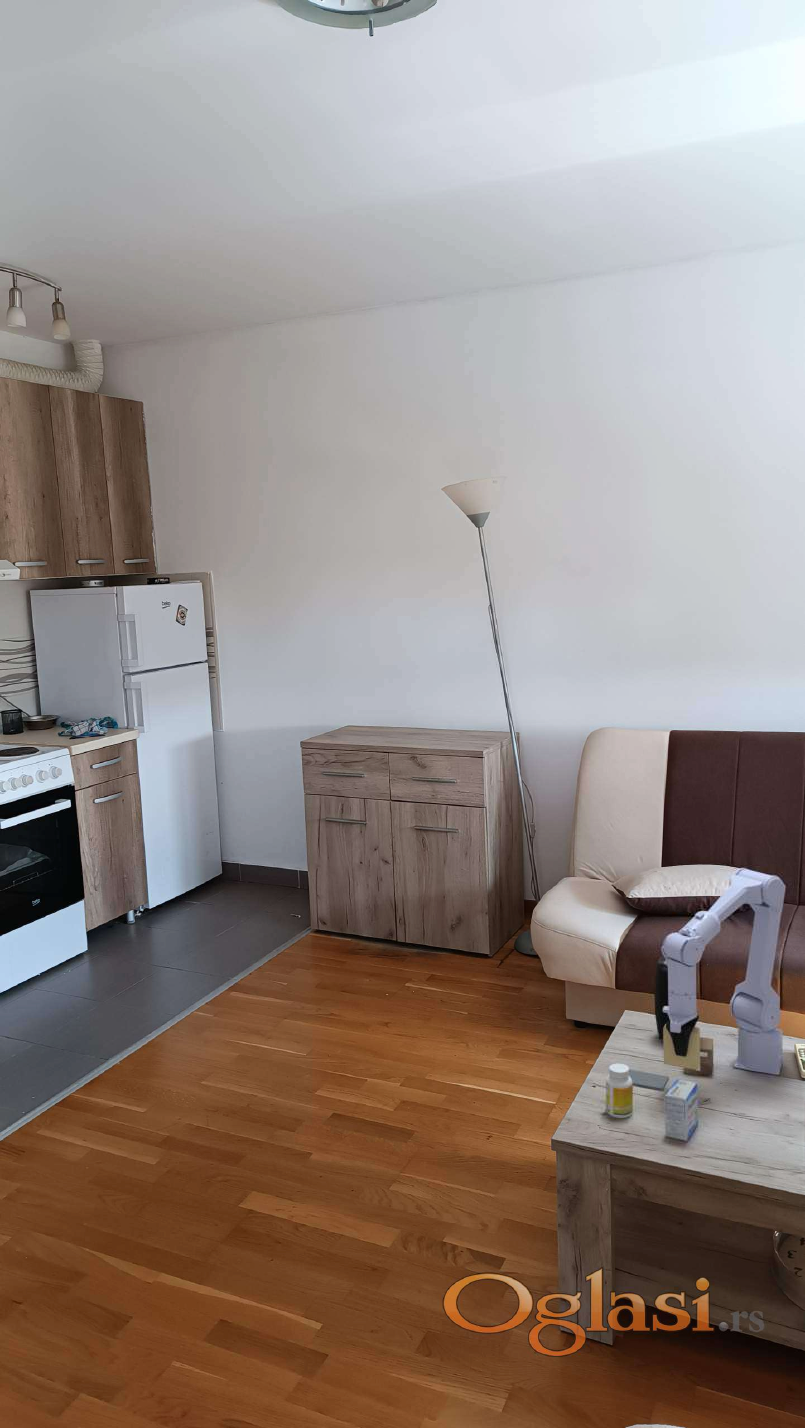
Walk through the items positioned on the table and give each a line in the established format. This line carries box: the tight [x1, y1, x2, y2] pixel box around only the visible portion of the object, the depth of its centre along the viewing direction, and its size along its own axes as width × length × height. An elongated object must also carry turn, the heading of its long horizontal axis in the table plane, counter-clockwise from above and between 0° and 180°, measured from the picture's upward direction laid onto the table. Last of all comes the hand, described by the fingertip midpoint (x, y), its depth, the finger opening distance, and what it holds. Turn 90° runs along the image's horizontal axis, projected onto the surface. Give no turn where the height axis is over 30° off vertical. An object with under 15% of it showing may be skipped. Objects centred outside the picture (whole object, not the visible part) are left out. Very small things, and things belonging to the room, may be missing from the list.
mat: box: [629, 1068, 670, 1092], centre depth 215 cm, size 9×6×1 cm, turn 63°
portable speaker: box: [653, 955, 670, 1041], centre depth 234 cm, size 9×9×20 cm
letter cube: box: [683, 1036, 714, 1077], centre depth 220 cm, size 6×6×6 cm
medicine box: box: [664, 1078, 699, 1142], centre depth 194 cm, size 8×4×9 cm, turn 148°
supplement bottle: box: [605, 1063, 634, 1119], centre depth 202 cm, size 5×5×10 cm
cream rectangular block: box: [662, 1024, 701, 1070], centre depth 209 cm, size 7×3×8 cm, turn 63°
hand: (682, 1051), depth 209 cm, fingers closed on cream rectangular block, 3 cm apart
